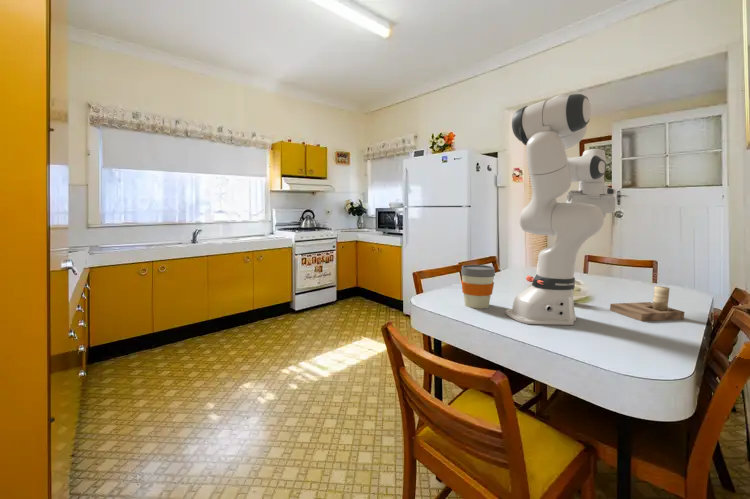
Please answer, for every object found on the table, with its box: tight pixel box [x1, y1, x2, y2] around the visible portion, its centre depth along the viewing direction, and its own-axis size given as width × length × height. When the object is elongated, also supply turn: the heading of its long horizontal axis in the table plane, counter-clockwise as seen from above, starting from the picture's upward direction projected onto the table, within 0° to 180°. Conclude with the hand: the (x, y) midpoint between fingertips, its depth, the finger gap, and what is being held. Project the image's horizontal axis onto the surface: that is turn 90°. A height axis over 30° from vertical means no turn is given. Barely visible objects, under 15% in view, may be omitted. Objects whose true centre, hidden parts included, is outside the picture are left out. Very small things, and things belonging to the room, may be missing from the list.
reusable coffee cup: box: [460, 264, 496, 309], centre depth 130 cm, size 13×13×15 cm
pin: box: [652, 285, 671, 311], centre depth 117 cm, size 4×4×10 cm
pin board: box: [609, 301, 685, 322], centre depth 119 cm, size 16×12×2 cm
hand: (588, 224), depth 139 cm, fingers open, 8 cm apart
